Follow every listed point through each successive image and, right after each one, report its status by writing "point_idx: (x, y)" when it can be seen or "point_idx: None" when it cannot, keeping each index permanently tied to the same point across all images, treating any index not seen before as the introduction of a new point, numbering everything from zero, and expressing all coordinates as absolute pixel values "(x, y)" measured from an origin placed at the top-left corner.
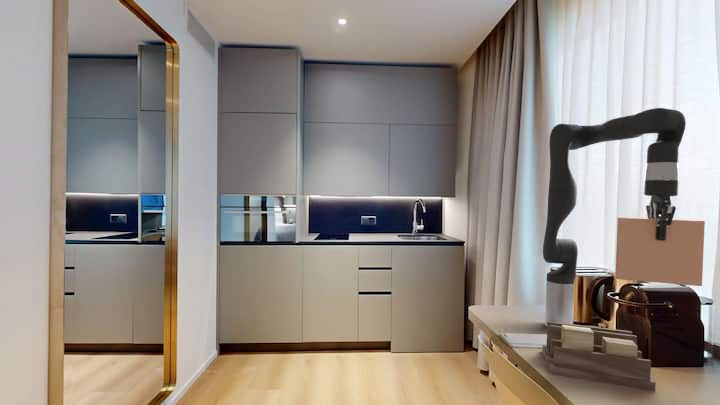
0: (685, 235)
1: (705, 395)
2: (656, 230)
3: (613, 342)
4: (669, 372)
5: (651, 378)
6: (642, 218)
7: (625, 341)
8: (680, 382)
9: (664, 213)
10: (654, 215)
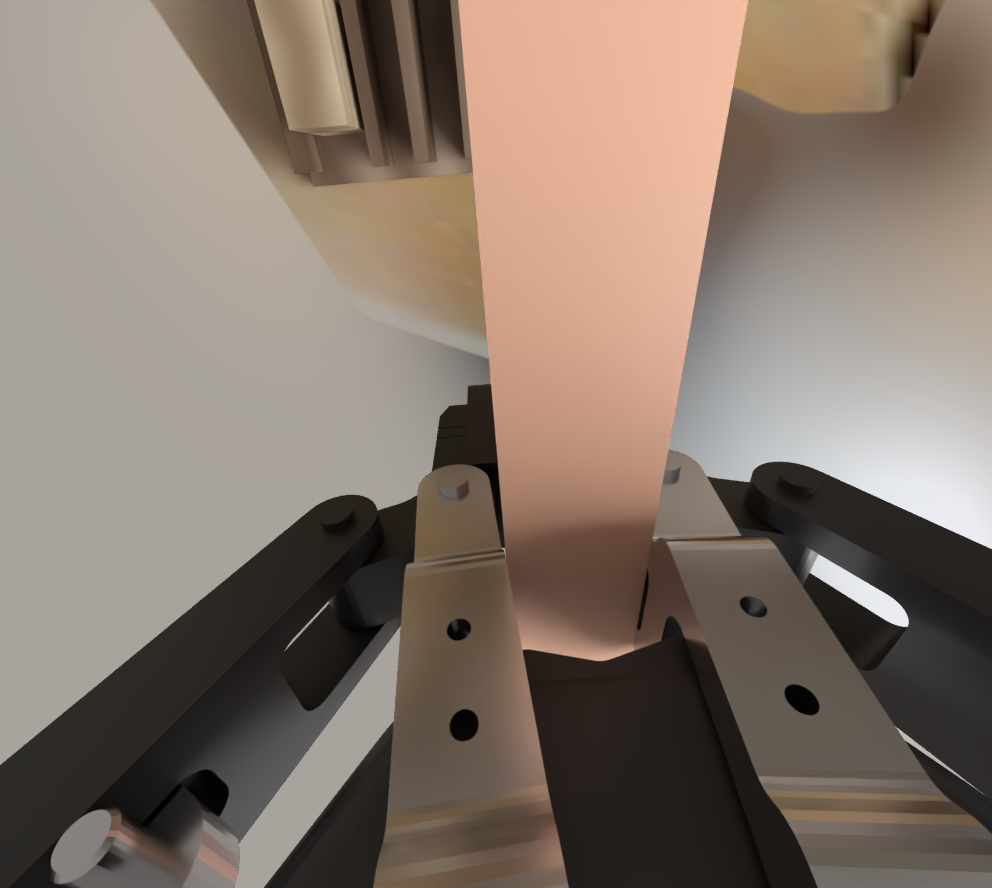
0: None
1: (368, 304)
2: (474, 435)
3: (266, 23)
4: (479, 267)
5: (337, 182)
6: (543, 329)
7: (317, 90)
8: (420, 273)
9: (67, 725)
10: (474, 591)
